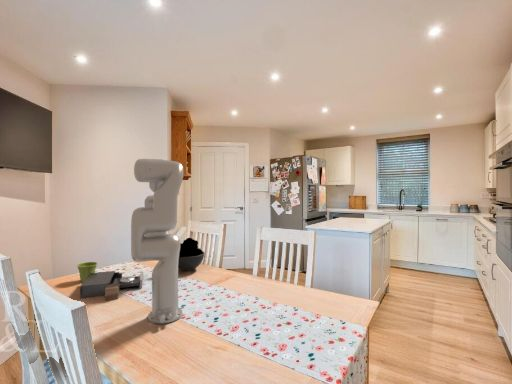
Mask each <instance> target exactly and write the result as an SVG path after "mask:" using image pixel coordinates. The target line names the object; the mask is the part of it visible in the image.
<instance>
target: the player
mask: <svg viewBox="0 0 512 384" xmlns="http://www.w3.org/2000/svg"><path fill="white" fill-rule="evenodd" d="M115 278H123V272H120V271H117V272H116V270H111V271H99V272H95V273H90V274H89V275H88V277H87V278H86V279H85V281H84V282H82V283H80V285H79V299H85V298H93V297H95V298H96V297H102V296H104V297H105V288H106V286H107V285H115V284H118V283H114V284H113V282H114V279H115Z"/></svg>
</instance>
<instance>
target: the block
mask: <svg viewBox="0 0 512 384" xmlns="http://www.w3.org/2000/svg"><path fill="white" fill-rule="evenodd" d="M119 296H120V288H119V284H115V285H107V286H106V288H105V295H104V299H105V300H104V301H112V300H119Z"/></svg>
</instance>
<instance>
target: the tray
mask: <svg viewBox="0 0 512 384" xmlns="http://www.w3.org/2000/svg"><path fill="white" fill-rule="evenodd" d="M134 277H135V281H134V282H133V283H126V284H120V283H119V279H120V278H115V279H114V282H113V284H114V283H118V284H119V289H120V288H128V287H129V288H130V287H137V286H138V287H139V289H143V286H144V285H143V283H144V272H143V271H141V272H140V275H137V276H134Z"/></svg>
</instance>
